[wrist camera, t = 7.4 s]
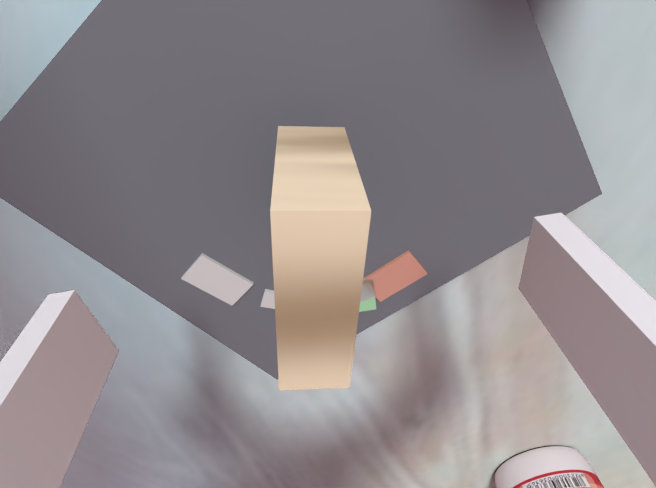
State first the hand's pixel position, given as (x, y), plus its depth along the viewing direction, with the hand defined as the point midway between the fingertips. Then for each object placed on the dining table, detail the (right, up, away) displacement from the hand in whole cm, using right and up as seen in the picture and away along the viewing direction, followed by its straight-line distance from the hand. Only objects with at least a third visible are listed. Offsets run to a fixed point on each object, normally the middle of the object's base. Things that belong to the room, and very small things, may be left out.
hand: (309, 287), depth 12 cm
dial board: (-1, +5, +8) cm, 9 cm away
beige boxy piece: (-1, +2, +8) cm, 8 cm away
